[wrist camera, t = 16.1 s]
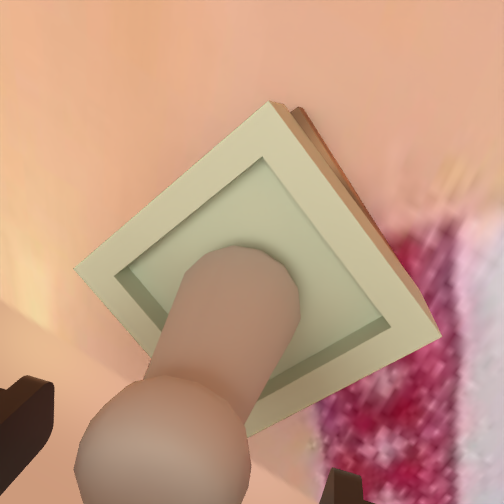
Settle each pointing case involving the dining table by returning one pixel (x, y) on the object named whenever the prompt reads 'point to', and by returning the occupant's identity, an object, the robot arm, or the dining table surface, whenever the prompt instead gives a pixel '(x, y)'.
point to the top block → (278, 247)
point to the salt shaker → (195, 389)
